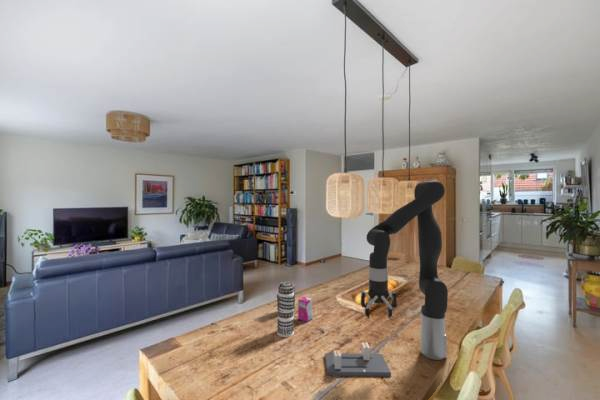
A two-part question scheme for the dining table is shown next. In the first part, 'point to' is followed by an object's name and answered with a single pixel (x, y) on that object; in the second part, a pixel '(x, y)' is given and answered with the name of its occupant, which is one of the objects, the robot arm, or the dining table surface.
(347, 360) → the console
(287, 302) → the decorative candle
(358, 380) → the dining table surface
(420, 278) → the robot arm
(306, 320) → the supplement box
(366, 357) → the white fader
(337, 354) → the grey fader
